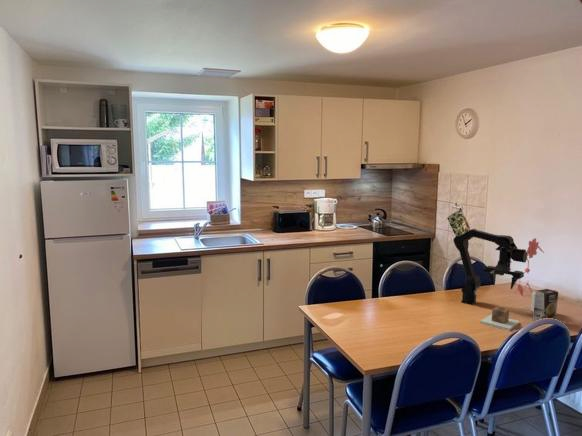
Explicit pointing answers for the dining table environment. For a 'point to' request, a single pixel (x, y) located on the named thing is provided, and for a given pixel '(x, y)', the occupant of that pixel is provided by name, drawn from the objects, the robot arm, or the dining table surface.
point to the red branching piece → (531, 252)
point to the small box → (533, 301)
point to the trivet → (506, 326)
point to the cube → (500, 315)
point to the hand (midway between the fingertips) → (502, 287)
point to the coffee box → (545, 304)
